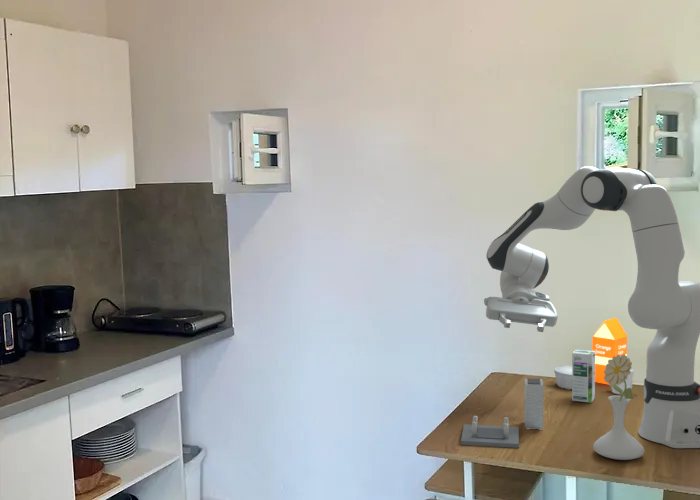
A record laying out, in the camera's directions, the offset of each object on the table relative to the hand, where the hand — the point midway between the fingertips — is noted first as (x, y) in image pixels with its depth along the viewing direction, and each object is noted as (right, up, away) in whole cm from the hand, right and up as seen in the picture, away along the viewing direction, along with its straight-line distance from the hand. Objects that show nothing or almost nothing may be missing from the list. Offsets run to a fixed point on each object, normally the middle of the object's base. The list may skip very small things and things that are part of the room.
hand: (524, 327), depth 217 cm
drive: (0, -25, -12) cm, 28 cm away
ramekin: (+21, -21, +26) cm, 40 cm away
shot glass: (+34, -22, +18) cm, 44 cm away
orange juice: (+34, -20, +31) cm, 51 cm away
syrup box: (+20, -22, +11) cm, 32 cm away
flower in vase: (+14, -27, -36) cm, 47 cm away
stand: (-13, -26, -21) cm, 36 cm away
